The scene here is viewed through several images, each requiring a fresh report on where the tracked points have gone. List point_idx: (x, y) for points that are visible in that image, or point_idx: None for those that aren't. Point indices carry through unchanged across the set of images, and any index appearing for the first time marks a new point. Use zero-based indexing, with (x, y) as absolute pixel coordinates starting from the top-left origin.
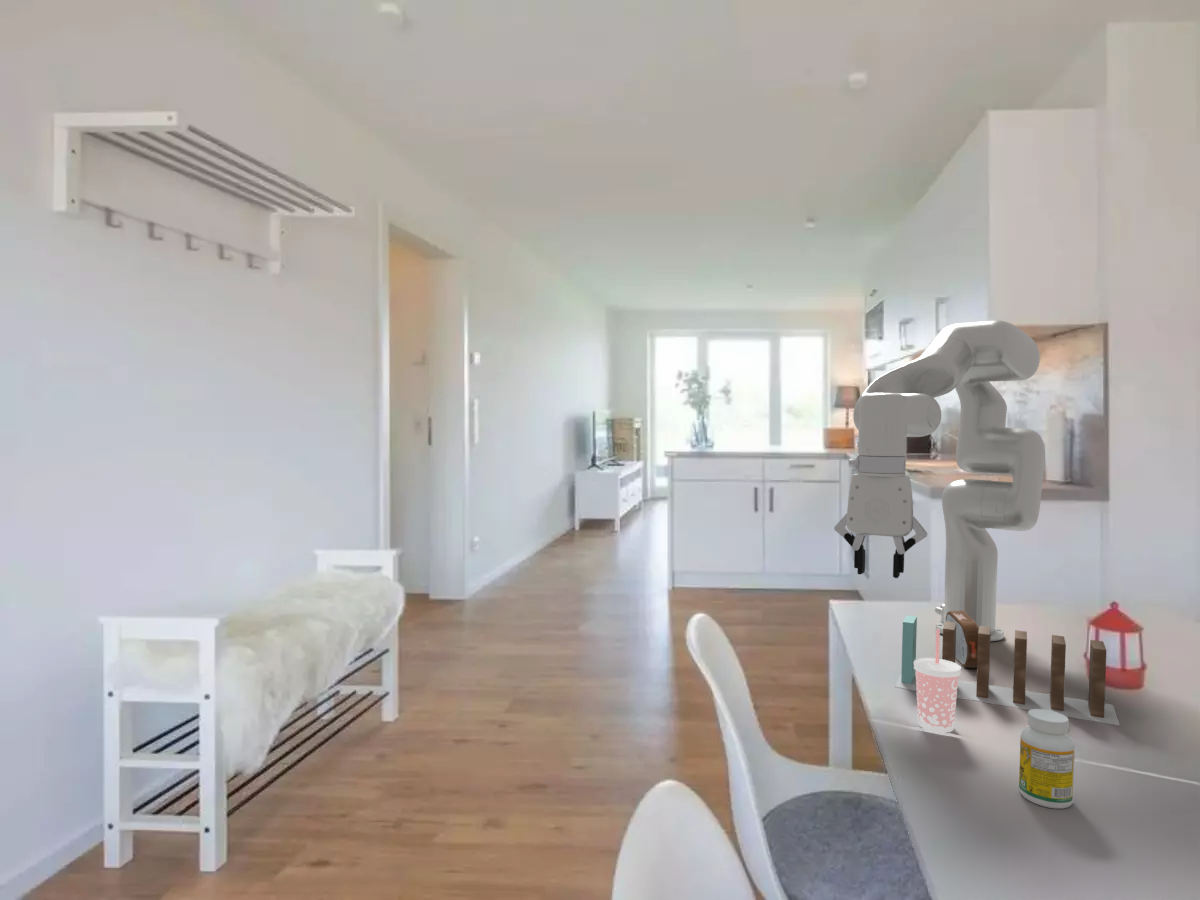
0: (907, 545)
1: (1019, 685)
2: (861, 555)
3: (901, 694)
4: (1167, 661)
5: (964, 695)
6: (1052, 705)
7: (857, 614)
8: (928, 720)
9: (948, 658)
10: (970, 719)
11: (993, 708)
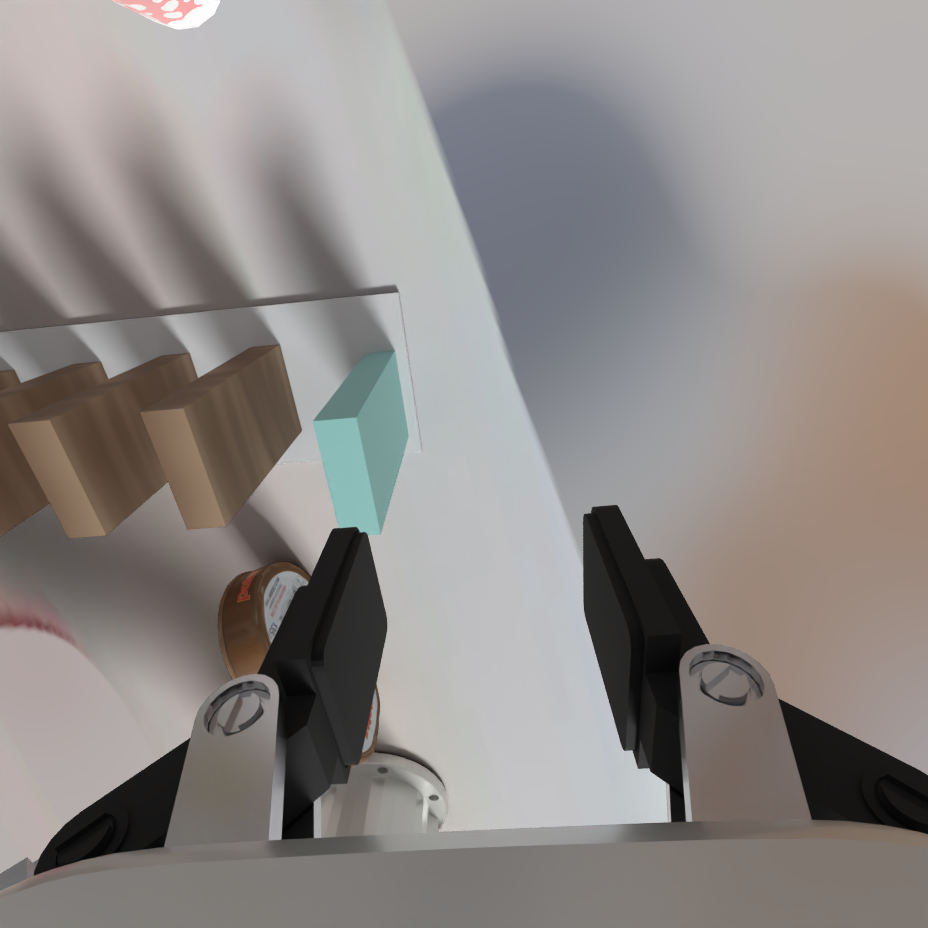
0: (156, 792)
1: (48, 377)
2: (629, 607)
3: (366, 250)
4: (26, 803)
5: (216, 341)
6: (2, 372)
7: (632, 811)
8: None
9: (217, 373)
10: (128, 141)
11: (126, 295)
